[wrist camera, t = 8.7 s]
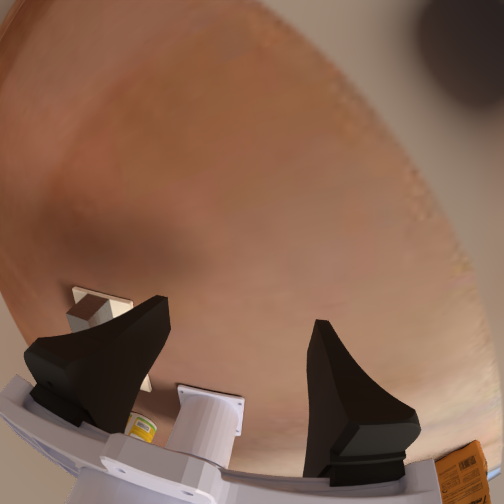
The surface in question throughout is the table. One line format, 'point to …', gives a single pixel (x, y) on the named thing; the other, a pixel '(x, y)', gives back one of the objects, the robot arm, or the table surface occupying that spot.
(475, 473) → the coffee package
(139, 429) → the supplement bottle
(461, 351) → the table surface
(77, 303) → the cream base with block
